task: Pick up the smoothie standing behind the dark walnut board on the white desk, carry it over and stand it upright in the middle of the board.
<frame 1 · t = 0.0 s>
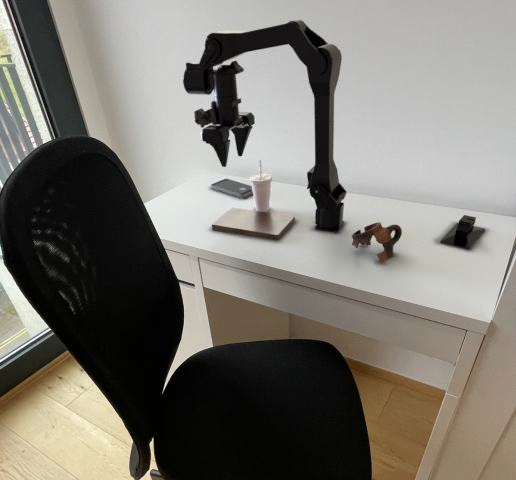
hand: (232, 161, 110), 15 cm above the table, tool pointing down, fingers open, 9 cm apart
phone: (234, 190, 134), on the table
smoothie: (262, 210, 120), on the table
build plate: (462, 236, 101), on the table
brown irregular piece: (376, 253, 98), on the table
board: (253, 225, 113), on the table
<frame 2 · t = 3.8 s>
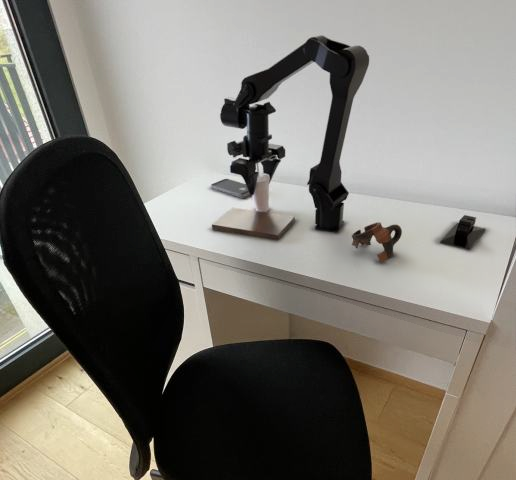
hand: (259, 190, 117), 6 cm above the table, tool pointing down, fingers closed on smoothie, 7 cm apart
smoothie: (262, 210, 120), on the table, touching gripper
everything else where it was.
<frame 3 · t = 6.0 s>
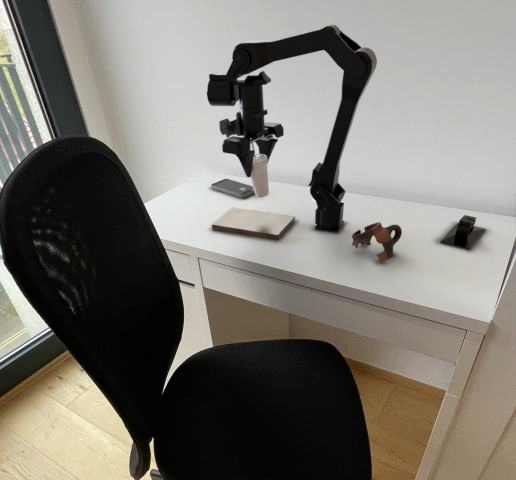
hand: (256, 173, 107), 13 cm above the table, tool pointing down, fingers closed on smoothie, 6 cm apart
smoothie: (262, 194, 112), point 7 cm above the table, touching gripper
everything else where it was.
when the fingers open (8 cm above the table, at t = 8.5 s): smoothie stays where it is, resting on board.
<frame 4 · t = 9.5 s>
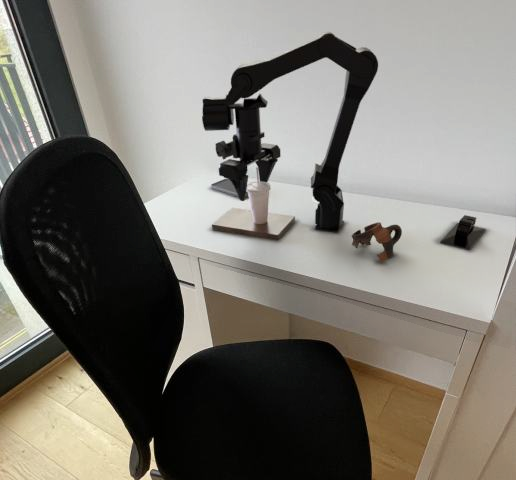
hand: (252, 194, 106), 9 cm above the table, tool pointing down, fingers open, 9 cm apart
smoothie: (260, 221, 112), point 1 cm above the table, touching board
everything else where it was.
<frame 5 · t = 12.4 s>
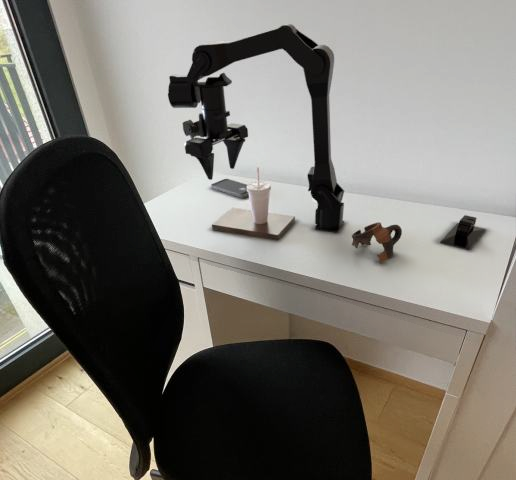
hand: (221, 173, 108), 13 cm above the table, tool pointing down, fingers open, 9 cm apart
nothing on the table moved.
at the end: smoothie inside the target area on the board (2.1 cm from its centre), point 1.3 cm above the board's base; smoothie tilted 0°; the gripper is holding nothing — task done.
